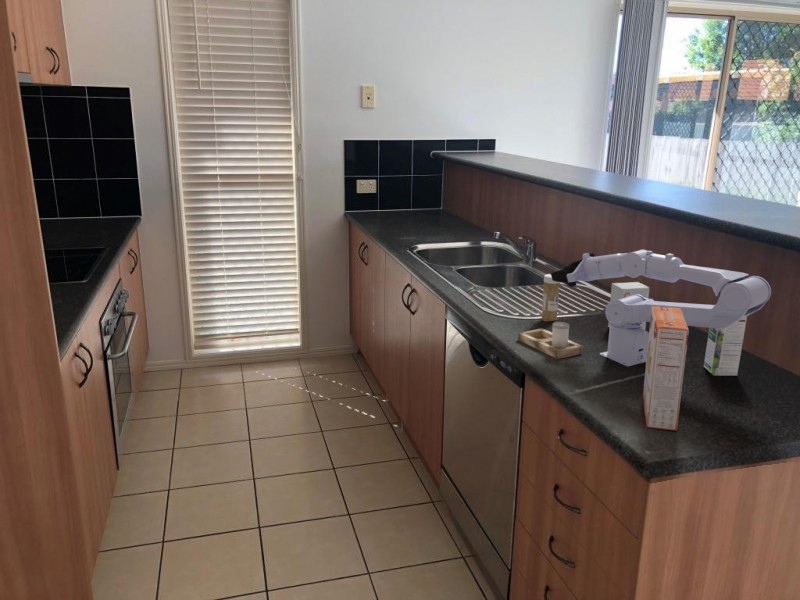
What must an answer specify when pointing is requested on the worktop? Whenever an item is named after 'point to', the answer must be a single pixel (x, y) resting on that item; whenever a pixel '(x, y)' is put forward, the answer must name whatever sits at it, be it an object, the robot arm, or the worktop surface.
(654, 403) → the cracker box
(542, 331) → the caddy
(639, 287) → the small box
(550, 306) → the sprinkles bottle
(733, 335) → the syrup box
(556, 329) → the salt shaker
